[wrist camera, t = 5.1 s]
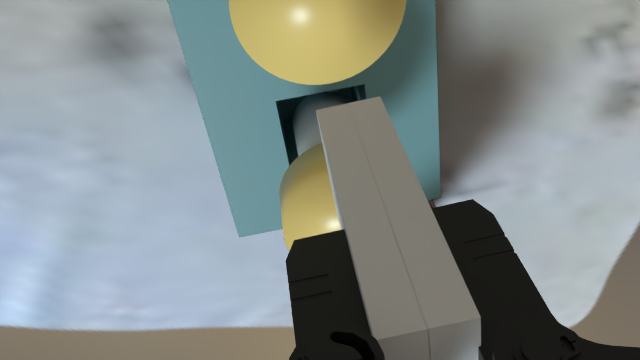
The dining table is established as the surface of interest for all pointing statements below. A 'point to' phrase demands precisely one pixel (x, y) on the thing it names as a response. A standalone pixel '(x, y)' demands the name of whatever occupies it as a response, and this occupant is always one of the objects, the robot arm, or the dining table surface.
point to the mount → (283, 97)
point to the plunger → (308, 175)
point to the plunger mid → (316, 35)
